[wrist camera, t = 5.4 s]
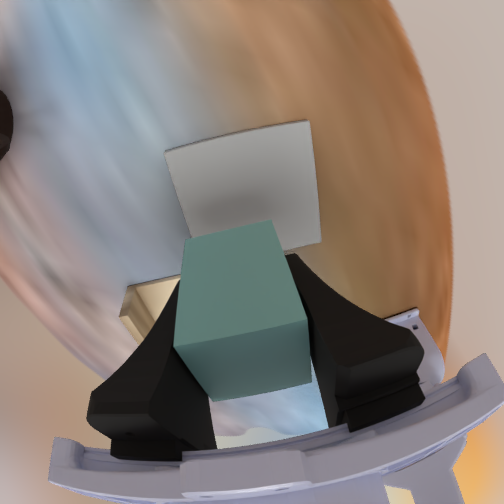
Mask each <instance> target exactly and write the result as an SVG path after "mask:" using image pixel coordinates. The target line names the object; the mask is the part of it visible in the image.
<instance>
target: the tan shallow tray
mask: <svg viewBox="0 0 504 504" xmlns="http://www.w3.org/2000/svg"><path fill="white" fill-rule="evenodd" d="M180 277H181V275H177V276H172V277H168V278H163V279H159V280H154V281H150V282H145V283H141V284H136V285H132V286H128V288H127V291H126V294H125V297H124V301H123V304H122V308H121V311H120V315H119V318H120V320H121V321H122V322H123V324H124V325H125V327H126V328H127V329H128V331H129V332H130V334H131V335H132V336H133V338H134V339H135V340H136V342H137V343H138V344H139V345H140V344H141V343H142V341H143V340H144V339H145V337H146V336H147V334H148V333H149V331H150V330H151V328H152V327H153V325H154V324H155V322H156V320H157V319H158V317H159V315H160V314H161V312H162V310H163V308H164V306H165V305H166V303H167V301H168V299H169V297H170V295H171V293H172V292H173V290H174V288H175V286H176V284H177V282H178V281H179V280H180Z"/></svg>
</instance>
